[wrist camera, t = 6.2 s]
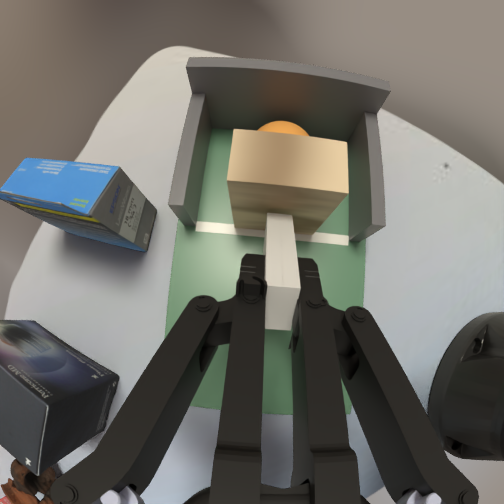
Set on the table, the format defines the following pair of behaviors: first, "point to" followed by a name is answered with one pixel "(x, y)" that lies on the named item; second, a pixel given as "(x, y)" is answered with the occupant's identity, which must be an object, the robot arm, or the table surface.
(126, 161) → the table surface
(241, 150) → the wooden block
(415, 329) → the table surface
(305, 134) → the ball
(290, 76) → the pitch
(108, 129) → the table surface
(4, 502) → the ink cartridge box
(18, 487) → the pottery mug
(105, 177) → the label tape cartridge
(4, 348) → the small box
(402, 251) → the table surface
